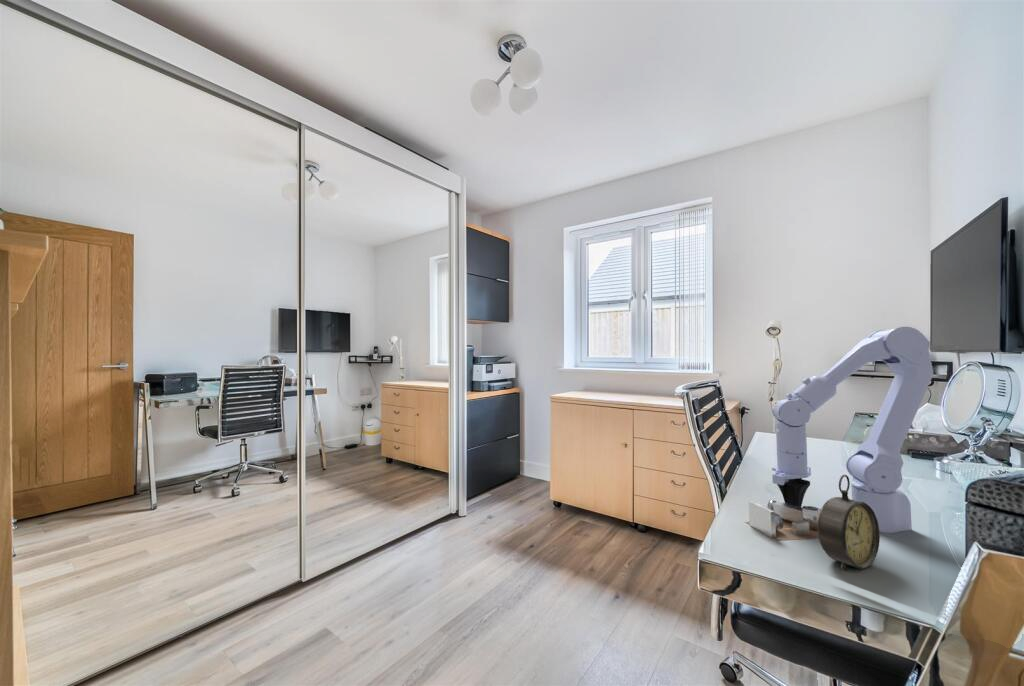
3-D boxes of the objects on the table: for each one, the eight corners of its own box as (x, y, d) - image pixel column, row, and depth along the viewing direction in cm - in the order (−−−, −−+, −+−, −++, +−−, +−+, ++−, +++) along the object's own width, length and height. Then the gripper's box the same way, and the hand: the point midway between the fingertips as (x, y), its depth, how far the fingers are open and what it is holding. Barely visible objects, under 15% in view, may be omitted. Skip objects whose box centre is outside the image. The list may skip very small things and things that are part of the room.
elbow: (826, 527, 82) (826, 508, 83) (819, 531, 80) (819, 512, 81) (774, 512, 91) (774, 495, 91) (767, 515, 89) (766, 498, 89)
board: (813, 522, 88) (813, 518, 88) (853, 540, 79) (852, 535, 79) (744, 526, 86) (744, 521, 86) (777, 545, 77) (777, 540, 77)
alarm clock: (848, 582, 64) (844, 482, 65) (811, 566, 69) (808, 474, 70) (883, 568, 68) (879, 475, 69) (847, 555, 73) (843, 467, 74)
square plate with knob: (786, 522, 85) (786, 499, 86) (811, 534, 80) (810, 509, 80) (749, 524, 84) (748, 501, 85) (771, 537, 78) (770, 511, 79)
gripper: (786, 445, 98) (788, 500, 97) (757, 451, 90) (759, 511, 89) (820, 450, 92) (822, 509, 91) (792, 458, 84) (794, 522, 83)
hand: (793, 511), depth 90 cm, fingers closed
